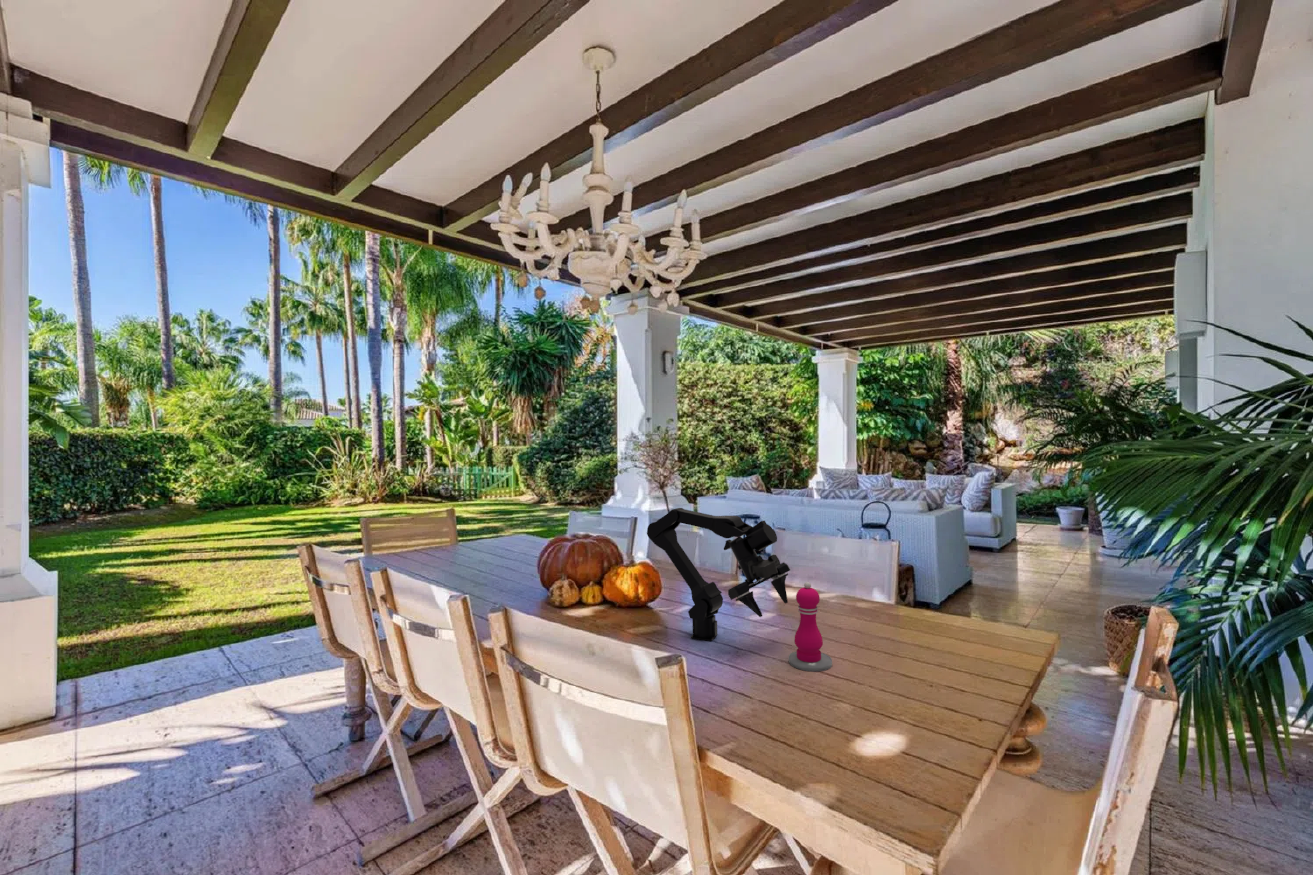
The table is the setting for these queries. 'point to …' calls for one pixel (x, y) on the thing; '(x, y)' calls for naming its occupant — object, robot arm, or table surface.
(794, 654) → the slate coaster
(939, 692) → the table surface
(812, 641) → the pepper mill
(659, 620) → the table surface
